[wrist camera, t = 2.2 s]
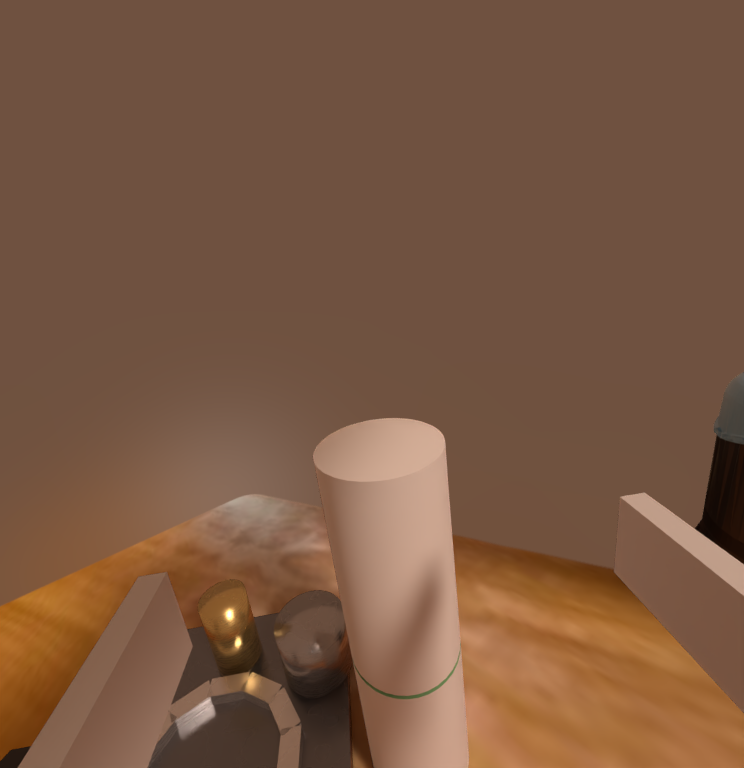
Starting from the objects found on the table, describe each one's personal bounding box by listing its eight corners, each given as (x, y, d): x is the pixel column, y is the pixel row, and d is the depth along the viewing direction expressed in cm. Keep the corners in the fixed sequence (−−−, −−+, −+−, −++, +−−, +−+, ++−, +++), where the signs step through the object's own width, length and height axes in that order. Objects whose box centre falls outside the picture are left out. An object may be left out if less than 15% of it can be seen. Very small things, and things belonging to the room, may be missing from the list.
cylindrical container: (450, 686, 32) (424, 410, 25) (485, 797, 25) (465, 465, 18) (366, 706, 32) (313, 429, 24) (379, 826, 25) (312, 494, 17)
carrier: (351, 608, 41) (339, 545, 38) (366, 897, 22) (345, 811, 20) (154, 644, 40) (128, 582, 37) (-5, 980, 21) (-78, 900, 18)
